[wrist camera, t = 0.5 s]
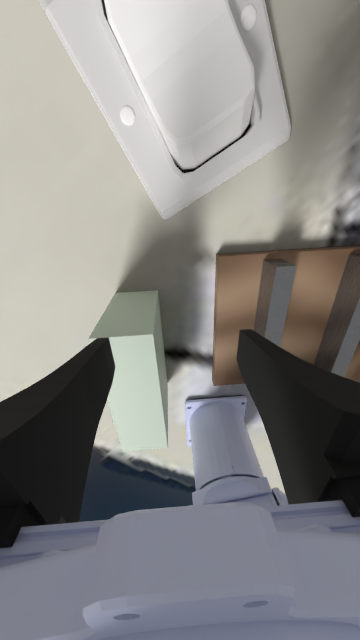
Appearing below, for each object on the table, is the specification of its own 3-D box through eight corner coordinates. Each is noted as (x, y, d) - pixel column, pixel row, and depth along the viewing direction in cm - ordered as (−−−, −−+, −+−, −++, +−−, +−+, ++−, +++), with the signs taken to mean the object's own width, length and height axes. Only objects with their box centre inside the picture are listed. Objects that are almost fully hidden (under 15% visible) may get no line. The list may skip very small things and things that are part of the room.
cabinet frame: (347, 369, 26) (375, 394, 23) (212, 379, 26) (219, 406, 22) (401, 242, 19) (454, 251, 16) (216, 254, 19) (227, 265, 15)
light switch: (165, 227, 15) (1, -59, 9) (164, 220, 19) (46, 12, 12) (316, 129, 13) (240, -343, 7) (282, 142, 16) (212, -158, 10)
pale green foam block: (157, 289, 20) (153, 334, 13) (167, 382, 26) (167, 447, 19) (107, 292, 20) (75, 339, 13) (128, 385, 26) (113, 452, 19)
